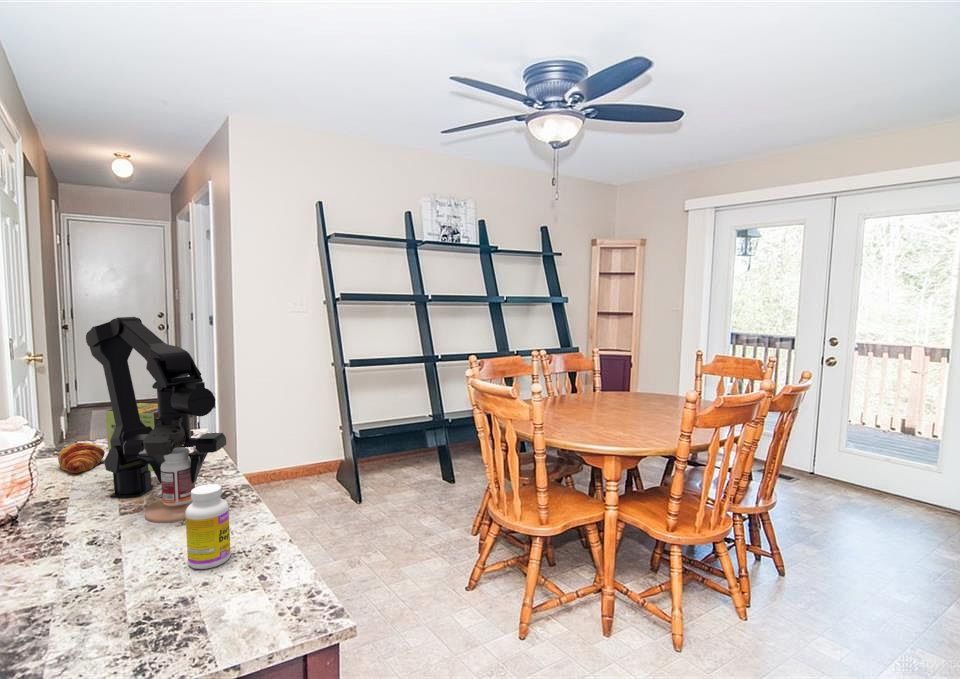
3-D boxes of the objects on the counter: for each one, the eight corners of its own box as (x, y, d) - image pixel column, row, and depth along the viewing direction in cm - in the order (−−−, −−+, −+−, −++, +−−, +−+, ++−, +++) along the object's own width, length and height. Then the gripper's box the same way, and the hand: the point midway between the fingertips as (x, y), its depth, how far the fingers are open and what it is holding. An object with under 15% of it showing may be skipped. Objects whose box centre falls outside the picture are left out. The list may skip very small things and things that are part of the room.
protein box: (157, 471, 140) (153, 413, 139) (108, 467, 144) (104, 410, 142) (187, 459, 150) (184, 404, 149) (141, 456, 154) (137, 402, 152)
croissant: (73, 469, 154) (55, 447, 151) (110, 447, 158) (92, 425, 156) (65, 490, 136) (44, 465, 133) (107, 465, 140) (87, 441, 138)
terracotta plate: (131, 523, 109) (130, 519, 109) (164, 498, 122) (164, 494, 122) (197, 521, 110) (197, 516, 109) (223, 497, 122) (223, 492, 122)
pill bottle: (196, 493, 120) (193, 445, 119) (195, 503, 114) (192, 453, 113) (163, 498, 117) (161, 448, 116) (160, 509, 111) (158, 456, 110)
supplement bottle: (224, 569, 91) (220, 494, 90) (182, 572, 90) (177, 497, 89) (235, 550, 97) (232, 480, 96) (196, 553, 96) (192, 483, 95)
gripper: (103, 420, 105) (109, 498, 107) (202, 419, 106) (206, 496, 108) (136, 408, 116) (141, 478, 118) (225, 406, 117) (229, 476, 119)
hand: (178, 482), depth 115 cm, fingers closed on pill bottle, 6 cm apart
